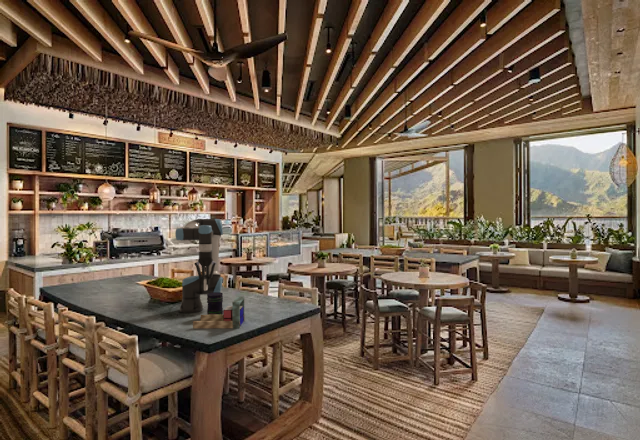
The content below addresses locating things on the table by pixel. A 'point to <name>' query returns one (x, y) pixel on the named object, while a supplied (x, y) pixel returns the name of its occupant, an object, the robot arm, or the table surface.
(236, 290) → the table surface
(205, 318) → the channel
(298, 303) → the table surface
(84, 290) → the table surface
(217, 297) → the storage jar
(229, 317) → the puzzle cube
